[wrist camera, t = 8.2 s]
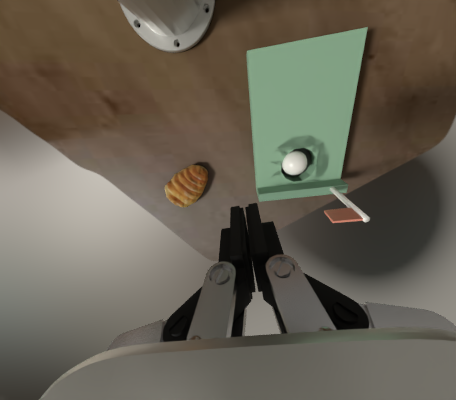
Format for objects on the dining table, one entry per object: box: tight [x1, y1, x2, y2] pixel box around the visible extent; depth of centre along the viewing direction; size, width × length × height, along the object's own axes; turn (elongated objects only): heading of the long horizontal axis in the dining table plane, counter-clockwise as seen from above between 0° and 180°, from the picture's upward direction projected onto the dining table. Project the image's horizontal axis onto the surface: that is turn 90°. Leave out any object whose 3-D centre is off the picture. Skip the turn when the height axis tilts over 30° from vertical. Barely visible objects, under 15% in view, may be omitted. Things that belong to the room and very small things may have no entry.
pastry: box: [165, 165, 208, 207], centre depth 34 cm, size 9×7×4 cm
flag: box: [324, 187, 370, 223], centre depth 28 cm, size 1×4×14 cm, turn 99°
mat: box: [247, 27, 368, 202], centre depth 28 cm, size 22×15×5 cm
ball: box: [282, 151, 307, 175], centre depth 31 cm, size 4×4×4 cm
